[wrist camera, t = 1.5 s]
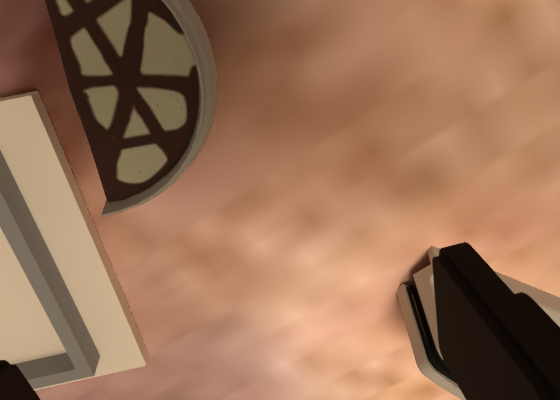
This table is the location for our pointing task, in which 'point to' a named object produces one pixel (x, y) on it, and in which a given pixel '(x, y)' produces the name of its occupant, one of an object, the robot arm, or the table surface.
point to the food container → (138, 89)
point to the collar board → (54, 263)
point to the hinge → (424, 321)
